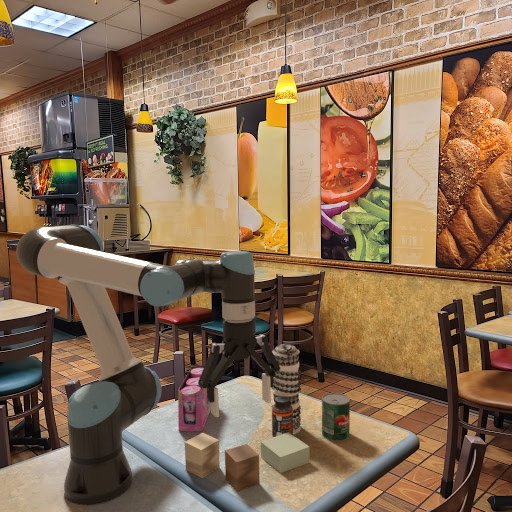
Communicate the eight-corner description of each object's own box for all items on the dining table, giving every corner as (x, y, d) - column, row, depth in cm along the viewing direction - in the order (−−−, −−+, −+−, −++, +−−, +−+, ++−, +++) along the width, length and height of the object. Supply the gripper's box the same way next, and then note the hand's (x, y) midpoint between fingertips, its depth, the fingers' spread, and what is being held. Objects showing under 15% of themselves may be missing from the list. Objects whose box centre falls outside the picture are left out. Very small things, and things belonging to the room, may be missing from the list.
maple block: (202, 481, 112) (201, 450, 111) (185, 472, 116) (184, 441, 115) (219, 470, 117) (218, 440, 116) (203, 461, 121) (202, 432, 120)
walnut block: (237, 495, 106) (236, 462, 106) (225, 481, 112) (224, 450, 111) (259, 486, 109) (259, 454, 109) (247, 474, 115) (246, 443, 114)
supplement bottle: (282, 444, 127) (282, 405, 126) (267, 436, 132) (266, 399, 130) (297, 436, 132) (296, 398, 130) (282, 428, 136) (281, 392, 134)
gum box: (201, 434, 135) (200, 392, 134) (177, 433, 136) (175, 392, 134) (214, 401, 157) (213, 365, 156) (192, 401, 158) (191, 365, 156)
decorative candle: (267, 423, 141) (265, 343, 138) (296, 419, 143) (295, 340, 140) (275, 437, 132) (274, 353, 129) (306, 433, 134) (305, 349, 131)
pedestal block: (280, 476, 114) (280, 457, 113) (260, 459, 121) (260, 441, 121) (309, 465, 119) (309, 446, 118) (288, 449, 126) (288, 432, 126)
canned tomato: (324, 426, 138) (324, 391, 137) (351, 430, 136) (351, 394, 134) (319, 439, 131) (319, 402, 130) (347, 443, 128) (347, 405, 127)
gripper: (194, 330, 97) (198, 427, 99) (293, 314, 109) (294, 401, 111) (181, 323, 103) (185, 414, 106) (276, 308, 115) (278, 390, 118)
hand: (241, 407), depth 108 cm, fingers open, 13 cm apart
